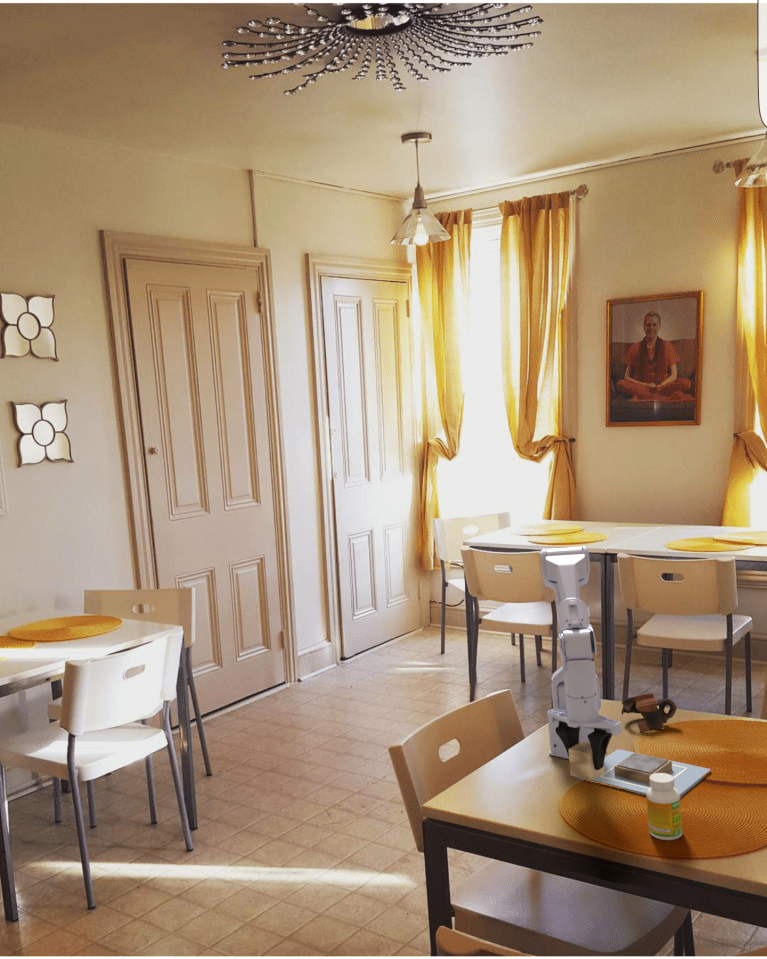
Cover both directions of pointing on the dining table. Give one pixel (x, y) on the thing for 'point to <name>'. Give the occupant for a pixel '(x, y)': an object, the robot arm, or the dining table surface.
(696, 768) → the board
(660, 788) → the supplement bottle
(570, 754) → the oak block
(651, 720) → the pottery mug
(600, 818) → the dining table surface
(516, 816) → the dining table surface
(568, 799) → the dining table surface
